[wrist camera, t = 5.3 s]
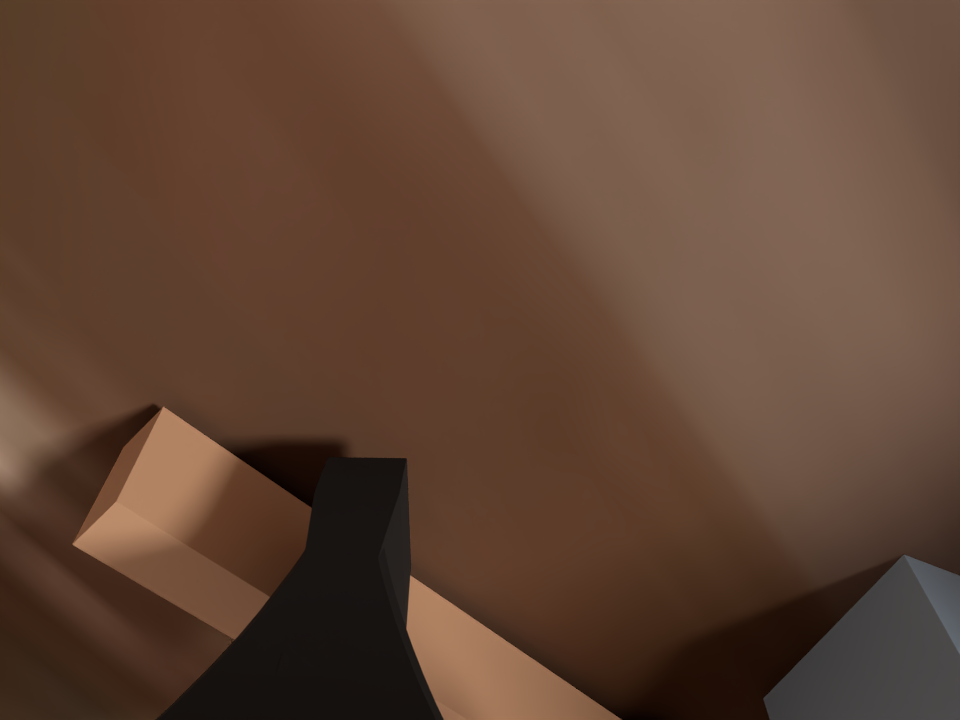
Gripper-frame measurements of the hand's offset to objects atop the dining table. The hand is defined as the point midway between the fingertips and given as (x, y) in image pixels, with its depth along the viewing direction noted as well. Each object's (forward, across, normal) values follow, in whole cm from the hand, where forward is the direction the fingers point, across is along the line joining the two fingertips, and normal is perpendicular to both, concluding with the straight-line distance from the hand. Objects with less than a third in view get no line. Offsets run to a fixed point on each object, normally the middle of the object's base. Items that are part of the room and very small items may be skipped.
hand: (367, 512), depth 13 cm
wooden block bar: (+1, -1, +3) cm, 4 cm away
